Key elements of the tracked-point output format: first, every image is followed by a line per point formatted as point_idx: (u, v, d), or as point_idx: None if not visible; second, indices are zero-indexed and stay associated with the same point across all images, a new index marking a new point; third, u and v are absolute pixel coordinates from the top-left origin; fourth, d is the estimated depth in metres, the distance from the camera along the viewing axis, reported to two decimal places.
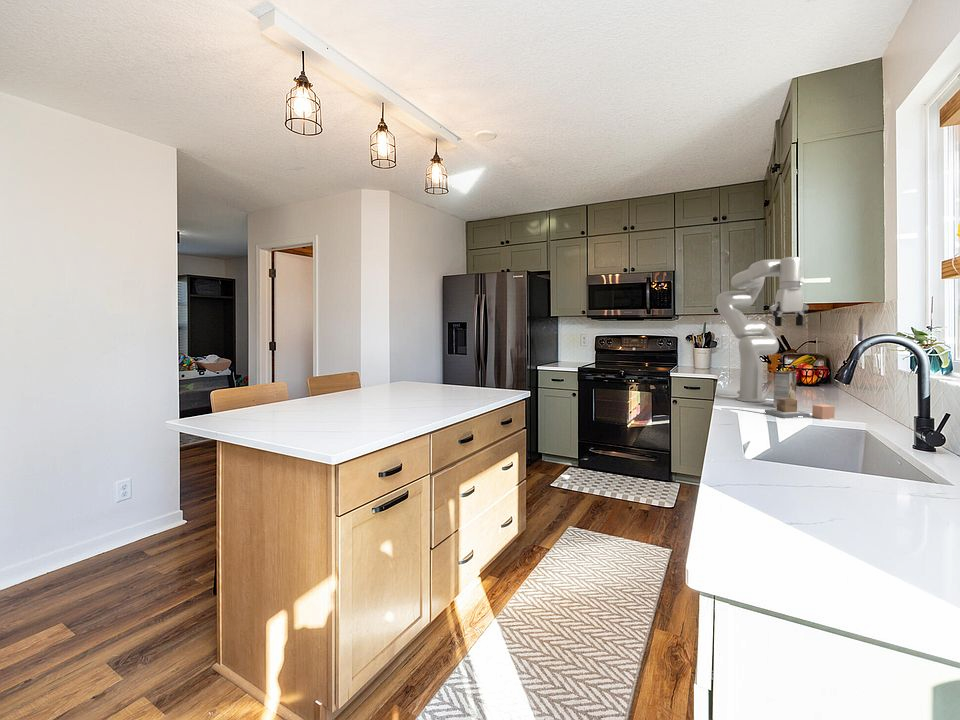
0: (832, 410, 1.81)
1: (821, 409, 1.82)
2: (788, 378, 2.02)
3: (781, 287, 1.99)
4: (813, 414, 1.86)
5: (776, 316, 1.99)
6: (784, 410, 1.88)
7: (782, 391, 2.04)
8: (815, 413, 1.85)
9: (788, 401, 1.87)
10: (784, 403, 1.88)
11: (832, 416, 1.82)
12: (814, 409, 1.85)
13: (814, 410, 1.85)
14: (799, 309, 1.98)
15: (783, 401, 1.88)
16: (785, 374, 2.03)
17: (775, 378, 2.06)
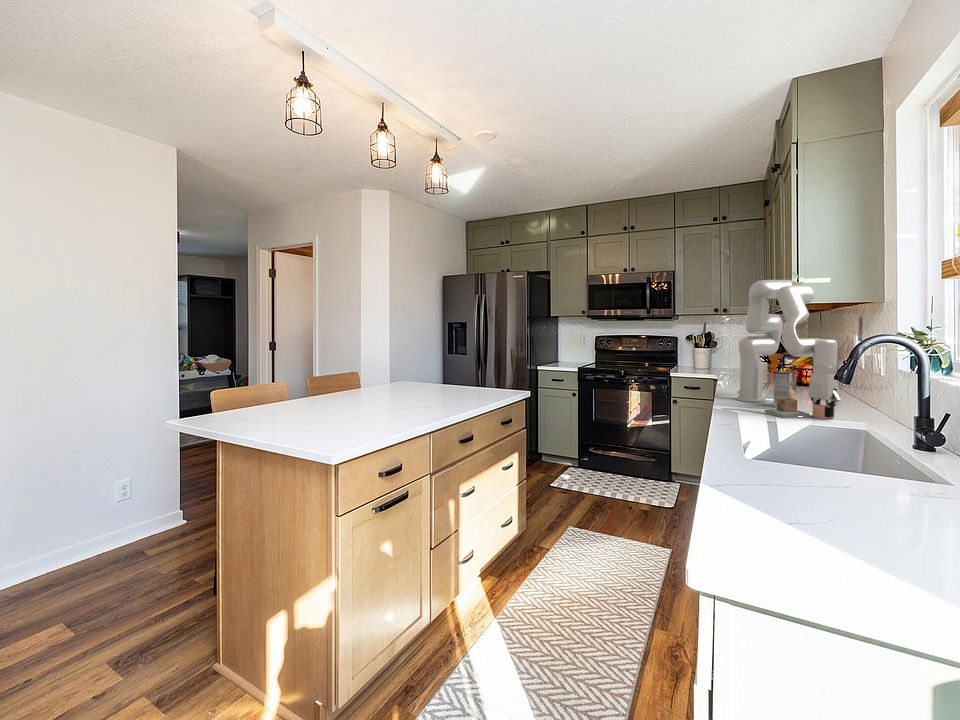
0: None
1: (821, 409, 1.82)
2: (788, 378, 2.02)
3: (832, 372, 1.79)
4: (813, 414, 1.86)
5: (832, 407, 1.80)
6: (784, 410, 1.88)
7: (782, 391, 2.04)
8: (815, 413, 1.85)
9: (788, 401, 1.87)
10: (784, 403, 1.88)
11: None
12: (814, 409, 1.85)
13: (814, 410, 1.85)
14: None
15: (783, 401, 1.88)
16: (785, 374, 2.03)
17: (775, 378, 2.06)
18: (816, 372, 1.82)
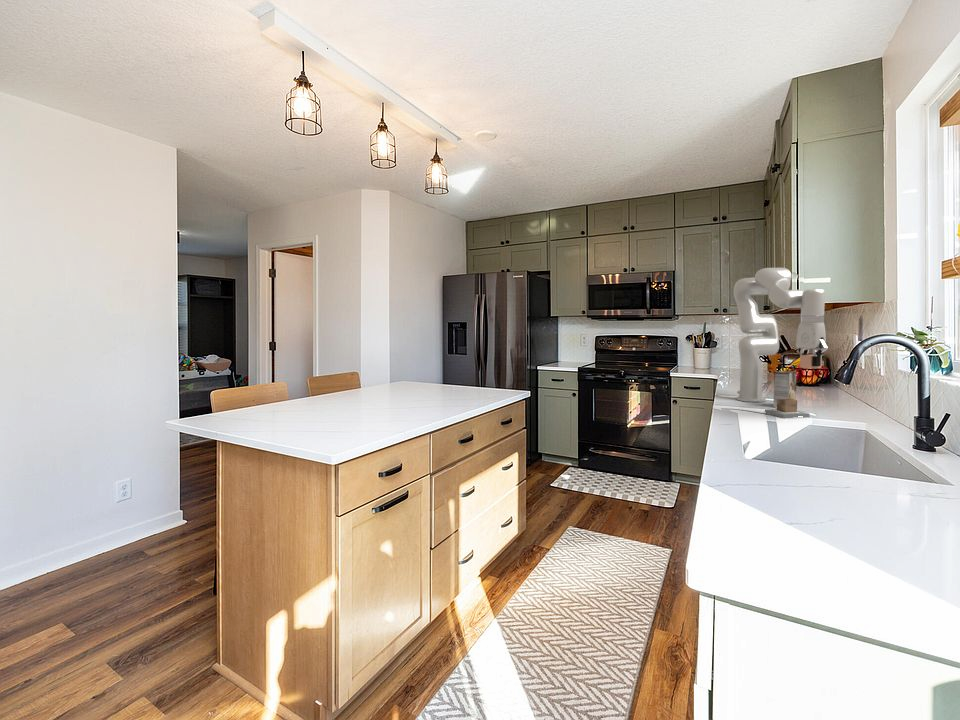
0: None
1: (808, 358, 1.83)
2: (788, 378, 2.02)
3: (819, 321, 1.80)
4: (800, 364, 1.87)
5: (819, 356, 1.81)
6: (784, 410, 1.88)
7: (782, 391, 2.04)
8: (802, 363, 1.86)
9: (788, 401, 1.87)
10: (784, 403, 1.88)
11: None
12: (801, 359, 1.86)
13: (801, 360, 1.86)
14: None
15: (783, 401, 1.88)
16: (785, 374, 2.03)
17: (775, 378, 2.06)
18: (804, 322, 1.83)
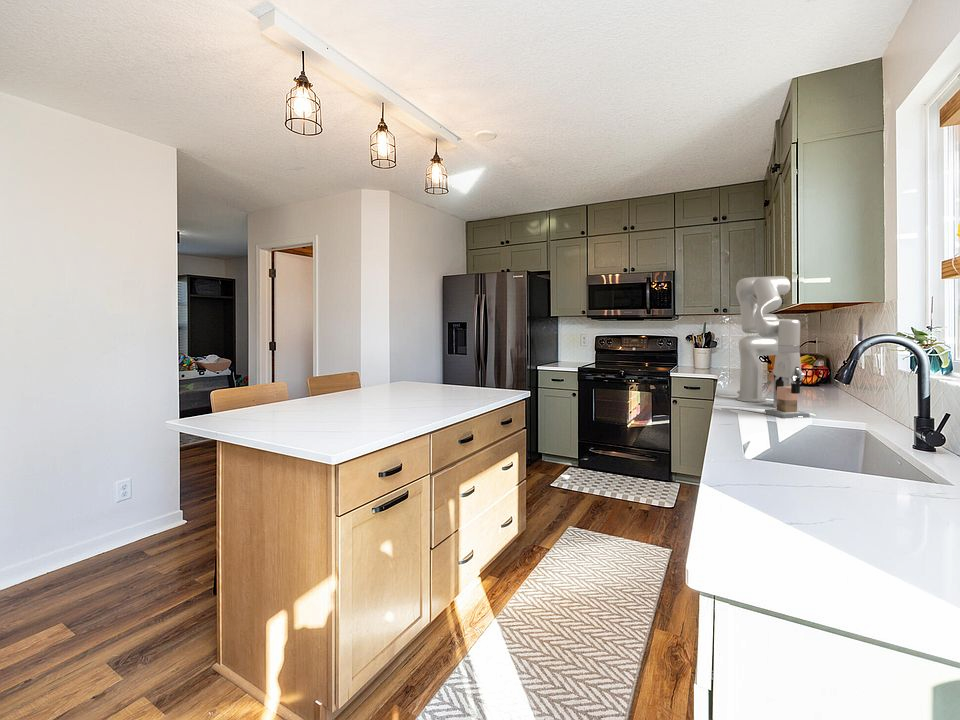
0: None
1: (784, 390, 1.88)
2: (788, 378, 2.02)
3: (794, 351, 1.85)
4: (777, 396, 1.92)
5: (798, 383, 1.84)
6: (784, 410, 1.88)
7: None
8: (779, 394, 1.91)
9: (788, 401, 1.87)
10: (784, 403, 1.88)
11: (795, 397, 1.87)
12: (778, 391, 1.91)
13: (778, 392, 1.91)
14: None
15: (783, 401, 1.88)
16: None
17: None
18: (780, 351, 1.88)
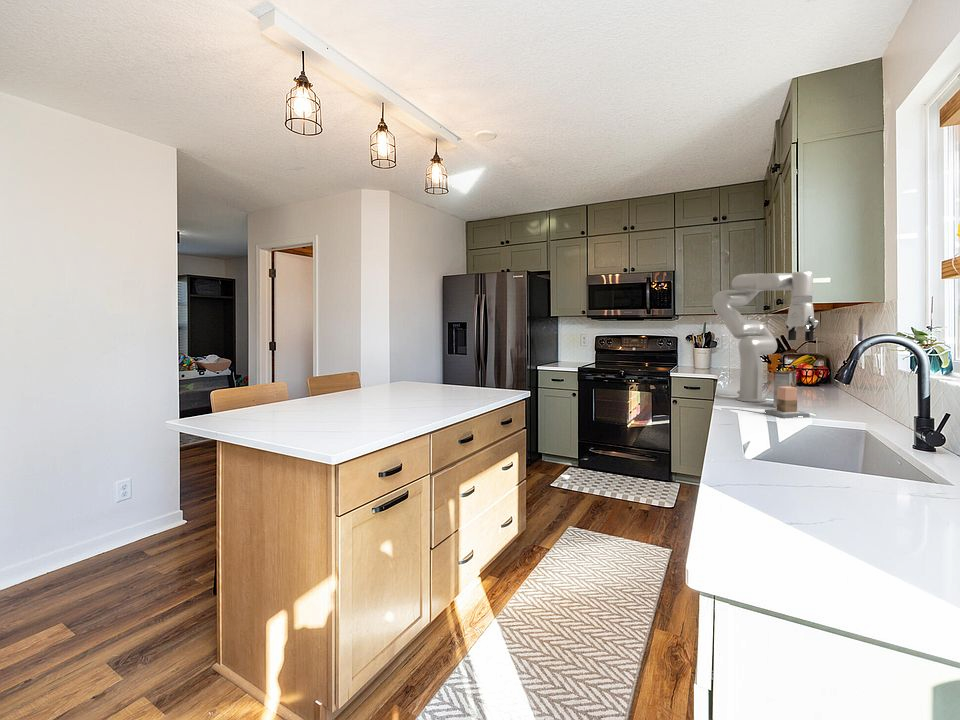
0: (795, 391, 1.87)
1: (784, 390, 1.88)
2: (788, 378, 2.02)
3: (807, 301, 1.94)
4: (777, 396, 1.92)
5: (812, 330, 1.92)
6: (784, 410, 1.88)
7: None
8: (779, 394, 1.91)
9: (788, 401, 1.87)
10: (784, 403, 1.88)
11: (795, 397, 1.87)
12: (778, 391, 1.91)
13: (778, 392, 1.91)
14: None
15: (783, 401, 1.88)
16: (785, 374, 2.03)
17: (775, 378, 2.06)
18: (793, 302, 1.97)
